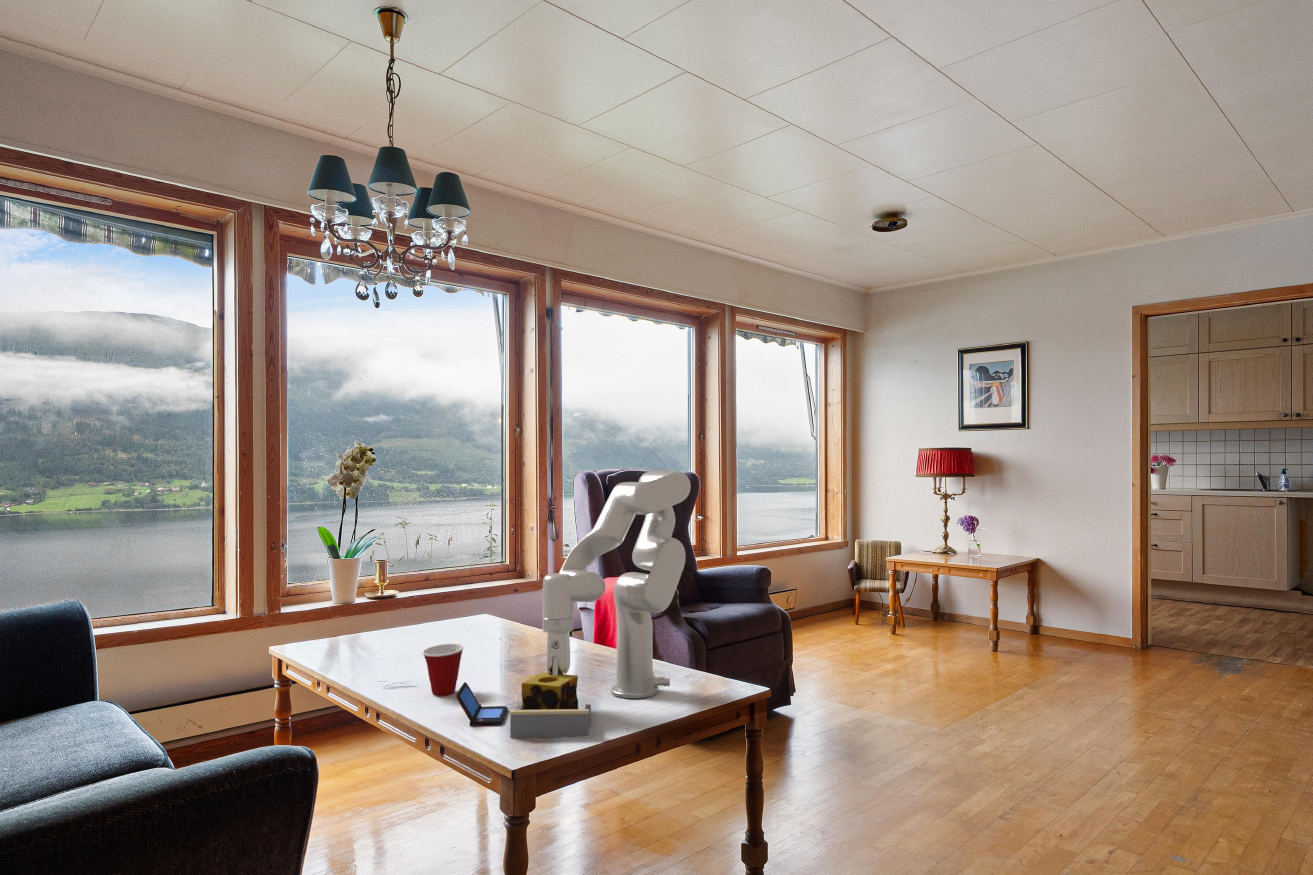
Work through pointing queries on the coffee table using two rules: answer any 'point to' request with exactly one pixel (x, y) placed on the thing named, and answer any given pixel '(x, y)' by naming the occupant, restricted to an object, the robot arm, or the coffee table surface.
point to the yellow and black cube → (550, 692)
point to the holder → (550, 722)
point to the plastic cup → (443, 667)
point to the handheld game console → (479, 709)
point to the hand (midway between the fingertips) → (557, 699)
